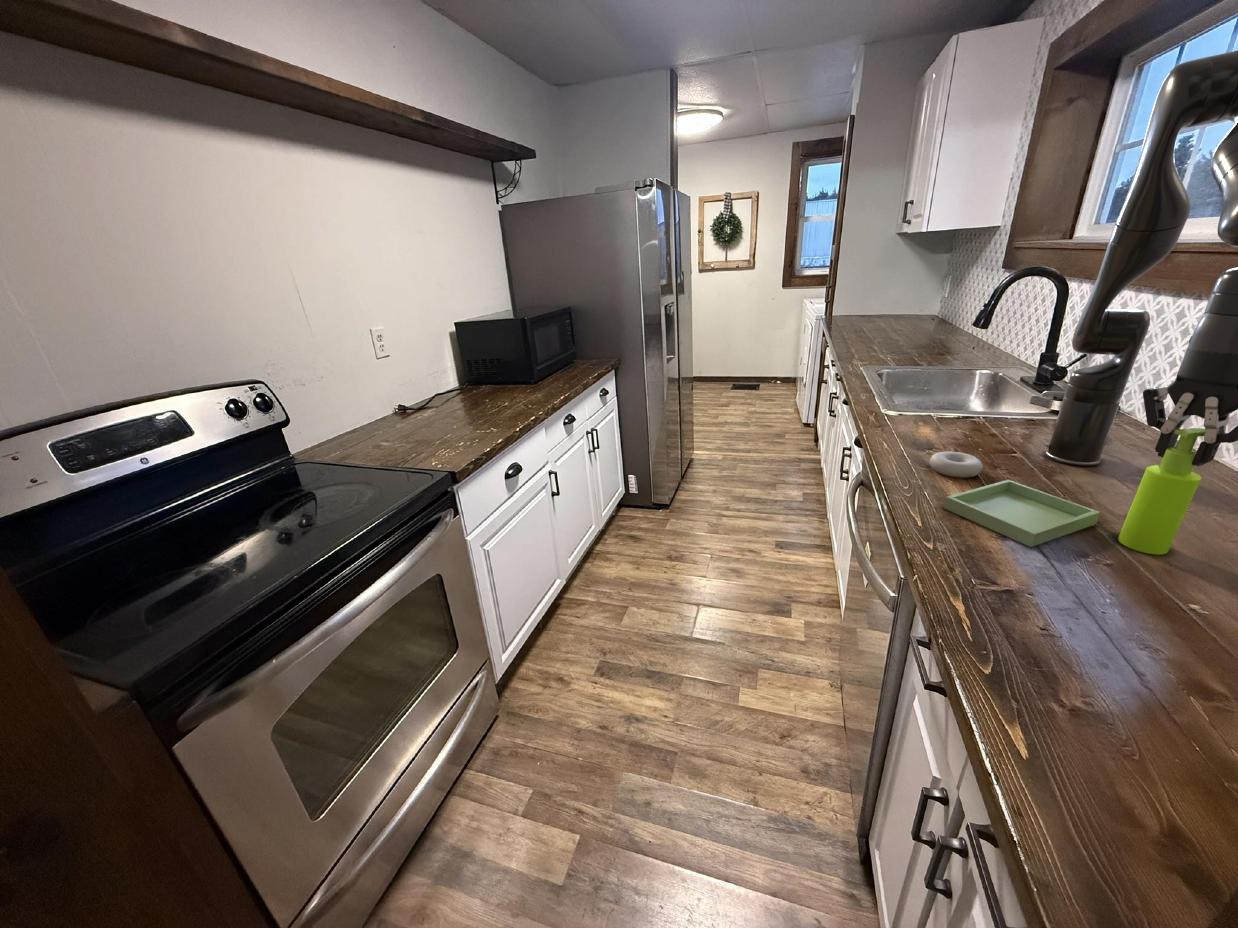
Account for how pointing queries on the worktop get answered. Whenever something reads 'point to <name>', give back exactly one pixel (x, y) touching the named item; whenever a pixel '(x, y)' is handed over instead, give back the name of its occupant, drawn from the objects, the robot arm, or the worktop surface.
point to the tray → (1021, 512)
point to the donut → (956, 464)
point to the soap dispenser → (1163, 498)
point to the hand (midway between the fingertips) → (1180, 459)
